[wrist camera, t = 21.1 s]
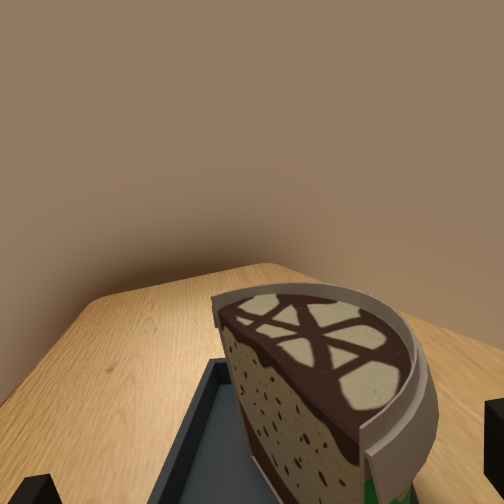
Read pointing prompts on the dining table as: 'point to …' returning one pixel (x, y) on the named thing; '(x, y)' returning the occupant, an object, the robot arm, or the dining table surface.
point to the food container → (328, 391)
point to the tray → (213, 451)
